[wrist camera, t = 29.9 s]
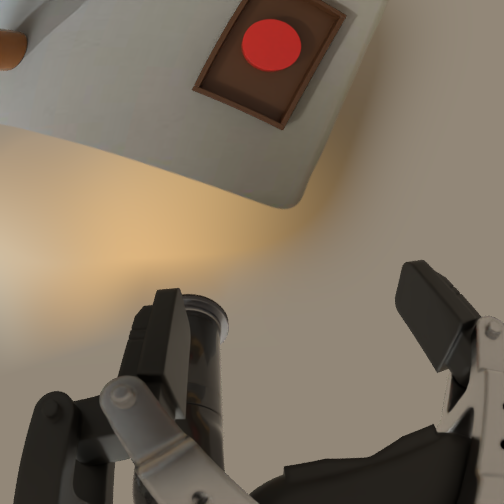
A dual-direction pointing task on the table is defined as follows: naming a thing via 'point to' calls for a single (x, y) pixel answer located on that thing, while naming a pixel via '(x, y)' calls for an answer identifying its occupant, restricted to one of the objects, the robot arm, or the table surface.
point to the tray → (261, 82)
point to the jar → (11, 48)
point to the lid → (271, 45)
